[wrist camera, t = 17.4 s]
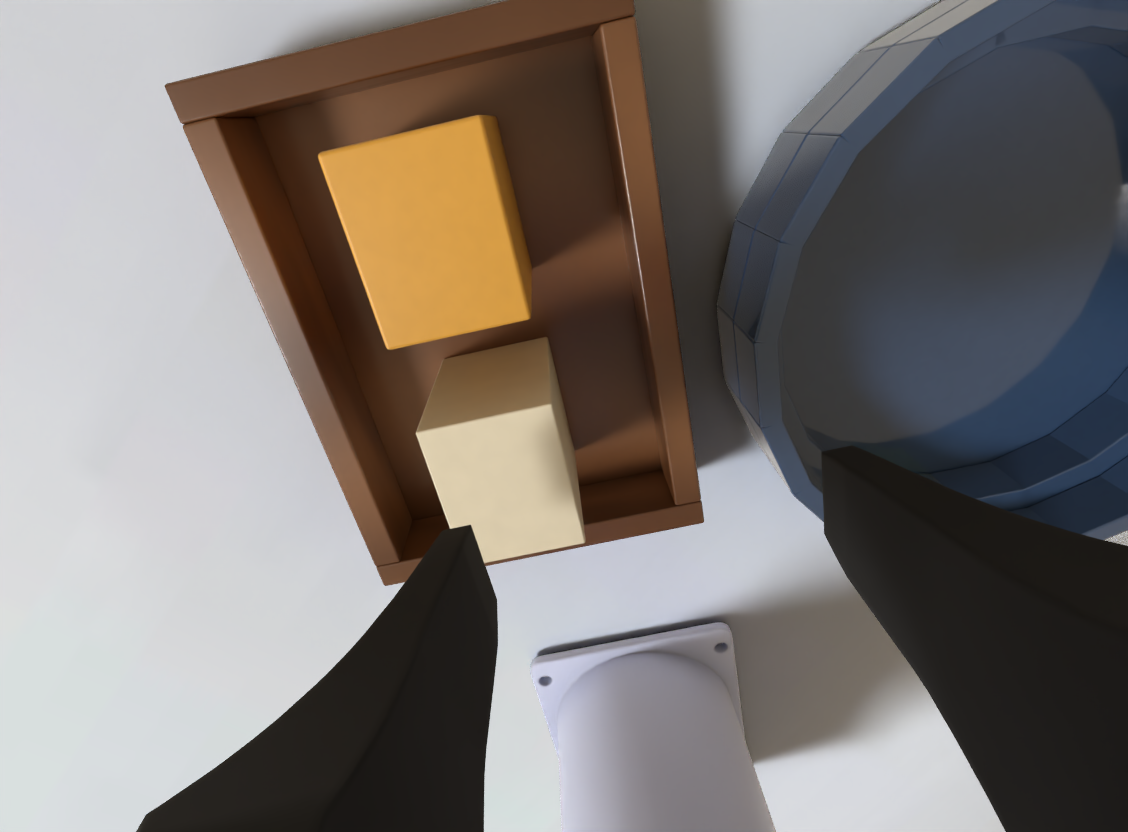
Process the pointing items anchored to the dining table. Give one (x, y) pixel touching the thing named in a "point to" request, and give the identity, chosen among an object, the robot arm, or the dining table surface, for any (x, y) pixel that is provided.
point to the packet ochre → (434, 229)
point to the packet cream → (503, 450)
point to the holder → (551, 228)
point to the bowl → (949, 264)
